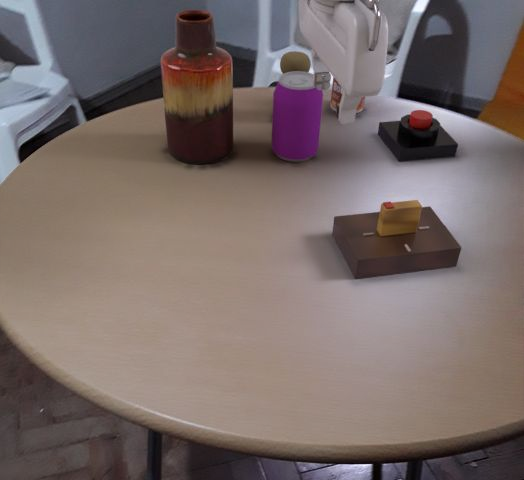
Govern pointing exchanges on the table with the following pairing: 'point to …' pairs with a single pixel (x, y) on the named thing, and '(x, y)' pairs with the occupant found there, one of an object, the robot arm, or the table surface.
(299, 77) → the beverage can
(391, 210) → the thumb turn
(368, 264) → the plate
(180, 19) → the vase
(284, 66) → the cork
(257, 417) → the table surface
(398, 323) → the table surface
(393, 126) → the box
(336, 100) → the pill bottle
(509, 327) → the table surface
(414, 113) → the bell button
